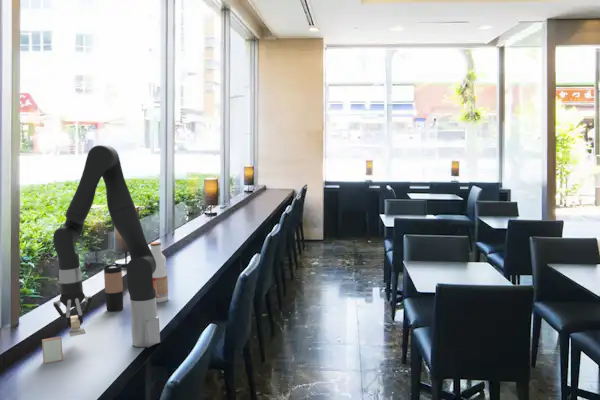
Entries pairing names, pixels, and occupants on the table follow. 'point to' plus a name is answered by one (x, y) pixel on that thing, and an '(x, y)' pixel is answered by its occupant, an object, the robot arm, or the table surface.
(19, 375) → the table surface
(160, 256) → the fruit juice
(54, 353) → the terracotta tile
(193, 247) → the table surface
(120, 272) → the travel mug
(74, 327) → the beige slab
